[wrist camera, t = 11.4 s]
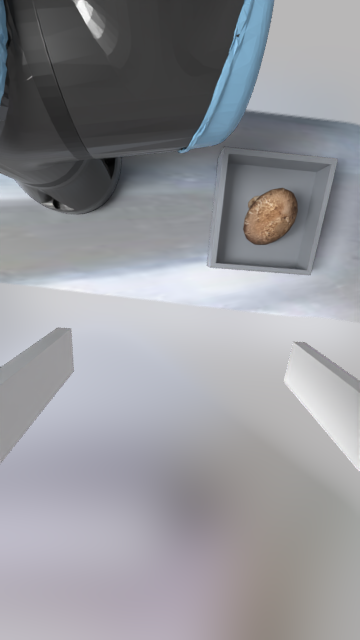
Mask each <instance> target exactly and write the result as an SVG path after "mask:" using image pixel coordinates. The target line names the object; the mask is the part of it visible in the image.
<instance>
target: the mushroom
mask: <svg viewBox="0 0 360 640" xmlns="http://www.w3.org/2000/svg"><path fill="white" fill-rule="evenodd" d="M248 208H249V210H248V212H247V214H246V216H245V220H244V226H243V231H244V234H245V237H246V239H247V240H248V241H250V242H251V243H252V244H254V245H267V244H270V243H272V242H275V241H277V240H278V239H280V238H281V237H283V236H284V235H285V234H286V233H287V232H288V231H289V230H290V228H291V227H292V225H293V224H294V222H295V220H296V216H297V213H298V203H297V199H296V197H295V195H294V193H293V192H292V191H289V190H287V189H285V188H277V189H272V190H270V191H268V192H266V193H264V194H262V195H261V196H255V197H253V198H252V199H251V200H250V201H249V202H248Z"/></svg>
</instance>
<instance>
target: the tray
mask: <svg viewBox="0 0 360 640" xmlns="http://www.w3.org/2000/svg"><path fill="white" fill-rule="evenodd" d="M337 161H338V159H336V158H326V157H317V156H308V155H298V154H289V153H279V152H270V151H261V150H251V149H242V148H232V147H224V148H223V150H222V152H221V154H220V156H219V158H218V165H217V174H216V184H215V193H214V202H213V211H212V221H211V230H210V239H209V249H208V258H207V266H208V267H210V268H222V269H235V270H248V271H261V272H274V273H287V274H300V275H311V271H312V267H313V262H314V258H315V254H316V250H317V245H318V241H319V237H320V233H321V229H322V224H323V220H324V216H325V212H326V207H327V203H328V199H329V195H330V190H331V186H332V182H333V178H334V174H335V169H336V165H337ZM277 188H285V189H287V190H289V191H292V192H293V193H294V195H295V197H296V199H297V203H298V213H297V216H296V220H295V222H294V224H293V225H292V227H291V228H290V230H289V231H288V232H287V233H286V234H285V235H284V236H283V237H281V238H280V239H278V240H277V241H275V242H272V243H270V244H267V245H254V244H252V243H251V242H250V241H248V240H247V239H246V237H245V234H244V231H243V226H244V220H245V216H246V214H247V212H248V210H249V208H248V202H249V201H250V200H251V199H252V198H253V197H255V196H261V195H262V194H264V193H266V192H268V191H270V190H272V189H277Z"/></svg>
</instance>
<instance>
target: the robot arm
mask: <svg viewBox="0 0 360 640" xmlns="http://www.w3.org/2000/svg"><path fill="white" fill-rule="evenodd" d="M273 6H274V0H0V173H1V174H3V175H6V176H8V177H10V178H13V179H14V180H15V181H16V182H17V183H18V184H19V186H20V187H21V188H22V189H23V190H24V191H25V192H26V193H27V194H28V195H29V196H30V197H31V198H33V199H34V200H35V201H37V202H38V203H40V204H42V205H43V206H45V207H47V208H50V209H52V210H55V211H58V212H62V213H66V214H83V213H87V212H90V211H93V210H95V209H97V208H98V207H100V206H101V205H102V204H104V203H105V202H106V201H107V200H108V199H109V197H110V196H111V195H112V193H113V191H114V190H115V188H116V185H117V183H118V180H119V176H120V170H121V157H123V156H133V155H143V154H152V153H162V152H172V151H177V152H178V153H185V152H188V151H189V150H190V149H194V148H200V147H207V146H213V145H217V144H219V143H221V142H223V141H224V140H225V139H226V138H227V137H228V136H229V135H230V134H231V133H232V132H233V131H234V130H235V128H236V127H237V125H238V124H239V122H240V120H241V118H242V116H243V114H244V112H245V110H246V108H247V105H248V103H249V100H250V98H251V95H252V92H253V89H254V86H255V83H256V80H257V76H258V73H259V69H260V66H261V62H262V58H263V54H264V50H265V46H266V42H267V37H268V32H269V28H270V23H271V18H272V11H273ZM73 372H74V367H73V352H72V334H71V329H70V328H56V329H55V330H54V331H52V332H51V333H49V334H48V335H46V336H45V337H43V338H42V339H41V340H39V341H38V342H36V343H35V344H33V345H32V346H30V347H29V348H28V349H26V350H25V351H23V352H22V353H20V354H19V355H18V356H16V357H15V358H13V359H12V360H11V361H9V362H8V363H6V364H5V365H4V366H2V367H0V464H1V462H2V461H3V460H4V459H5V457H6V456H7V455H8V454H9V452H10V451H11V450H12V448H13V447H14V446H15V445H16V443H17V442H18V441H19V440H20V439H21V437H22V436H23V435H24V434H25V432H26V431H27V430H28V429H29V427H30V426H31V425H32V423H33V422H34V421H35V420H36V418H37V417H38V416H39V415H40V413H41V412H42V411H43V410H44V408H45V407H46V406H47V404H48V403H49V402H50V401H51V399H52V398H53V397H54V396H55V394H56V393H57V392H58V391H59V389H60V388H61V387H62V386H63V384H64V383H65V382H66V380H67V379H68V378H69V377H70V375H71V374H72V373H73ZM284 383H285V384H286V385H287V386H288V387H289V389H290V390H291V391H292V392H293V393H294V394H295V396H296V397H297V398H298V399H299V400H300V402H301V403H302V404H303V405H304V406H305V407H306V409H307V410H308V411H309V412H310V414H311V415H312V416H313V417H314V418H315V419H316V421H317V422H318V423H319V424H320V425H321V427H322V428H323V429H324V430H325V431H326V433H327V434H328V435H329V436H330V437H331V438H332V440H333V441H334V442H335V443H336V444H337V445H338V447H339V448H340V449H341V450H342V452H343V453H344V454H345V455H346V456H347V457H348V459H349V460H350V461H351V462H352V463H353V465H354V466H355V467H356V468H357V469H358V471H359V472H360V381H359V380H358V379H357V378H355V377H354V376H352V375H351V374H349V373H348V372H347V371H345V370H344V369H342V368H341V367H339V366H338V365H337V364H335V363H334V362H332V361H331V360H330V359H328V358H327V357H325V356H324V355H322V354H321V353H319V352H318V351H317V350H315V349H314V348H312V347H311V346H310V345H308V344H307V343H305V342H293V345H292V349H291V353H290V357H289V362H288V366H287V371H286V375H285V379H284Z"/></svg>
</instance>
